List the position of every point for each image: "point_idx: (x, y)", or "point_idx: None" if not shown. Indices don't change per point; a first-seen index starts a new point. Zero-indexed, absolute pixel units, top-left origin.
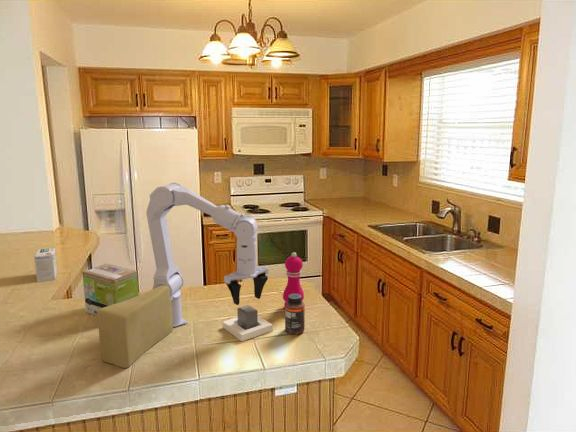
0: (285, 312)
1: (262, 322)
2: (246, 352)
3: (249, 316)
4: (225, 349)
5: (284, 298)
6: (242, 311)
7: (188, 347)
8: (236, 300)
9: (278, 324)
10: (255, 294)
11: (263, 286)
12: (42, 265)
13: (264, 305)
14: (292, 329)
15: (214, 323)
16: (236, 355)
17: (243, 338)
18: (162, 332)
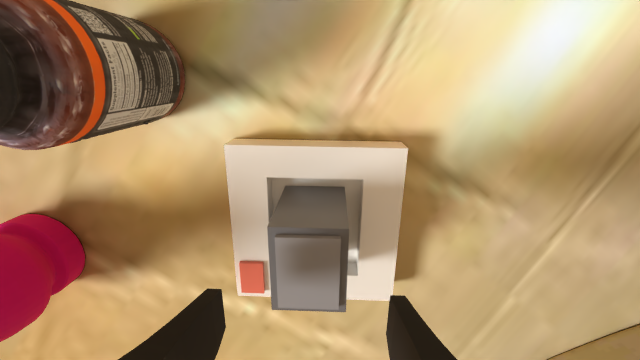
0: (123, 100)
1: (253, 192)
2: (448, 43)
3: (326, 218)
4: (497, 128)
5: (41, 293)
6: (347, 266)
7: (588, 233)
8: (421, 324)
9: (179, 170)
10: (217, 338)
11: (124, 357)
12: None
13: (146, 332)
14: (159, 39)
15: None
16: (499, 49)
17: (394, 144)
18: (638, 356)
